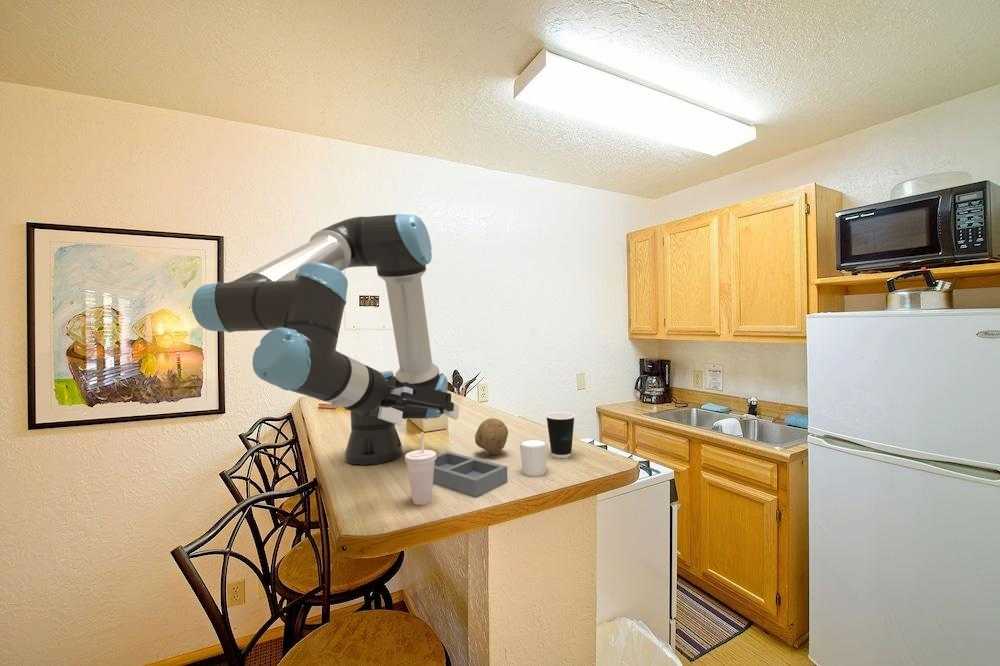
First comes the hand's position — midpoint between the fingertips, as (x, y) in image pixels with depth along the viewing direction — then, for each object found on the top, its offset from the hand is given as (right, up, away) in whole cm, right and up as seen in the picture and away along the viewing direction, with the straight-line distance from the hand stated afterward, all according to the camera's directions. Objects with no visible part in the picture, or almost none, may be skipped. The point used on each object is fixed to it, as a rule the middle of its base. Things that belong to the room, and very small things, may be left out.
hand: (428, 415), depth 83 cm
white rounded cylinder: (+23, -17, +16) cm, 32 cm away
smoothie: (-1, -18, +1) cm, 18 cm away
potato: (+12, -17, +30) cm, 36 cm away
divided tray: (+6, -17, +12) cm, 22 cm away
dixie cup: (+31, -16, +27) cm, 44 cm away
